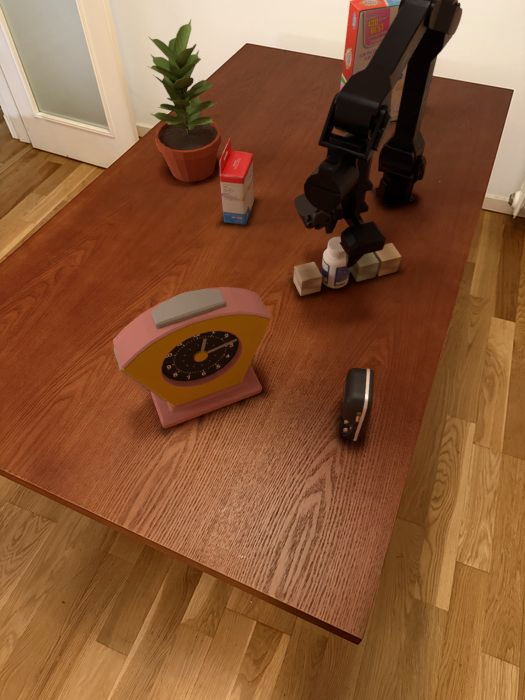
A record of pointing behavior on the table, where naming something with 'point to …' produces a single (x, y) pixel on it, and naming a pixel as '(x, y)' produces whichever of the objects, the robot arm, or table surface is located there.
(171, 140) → the potted plant
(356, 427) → the battery charger
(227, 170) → the ink box
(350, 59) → the game box
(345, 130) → the robot arm
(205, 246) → the table surface
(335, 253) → the pill bottle
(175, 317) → the toy desk clock
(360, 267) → the block line
